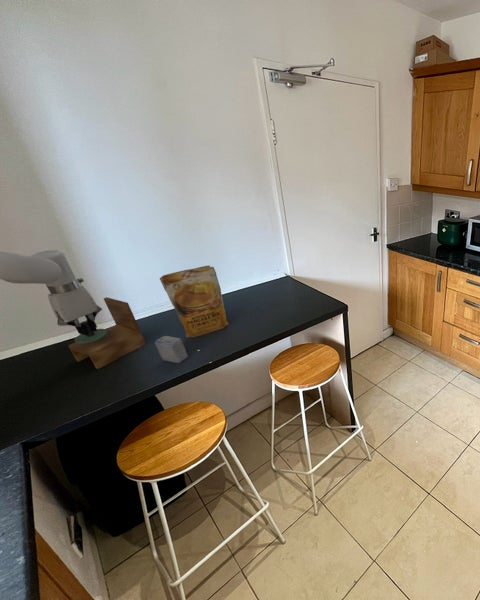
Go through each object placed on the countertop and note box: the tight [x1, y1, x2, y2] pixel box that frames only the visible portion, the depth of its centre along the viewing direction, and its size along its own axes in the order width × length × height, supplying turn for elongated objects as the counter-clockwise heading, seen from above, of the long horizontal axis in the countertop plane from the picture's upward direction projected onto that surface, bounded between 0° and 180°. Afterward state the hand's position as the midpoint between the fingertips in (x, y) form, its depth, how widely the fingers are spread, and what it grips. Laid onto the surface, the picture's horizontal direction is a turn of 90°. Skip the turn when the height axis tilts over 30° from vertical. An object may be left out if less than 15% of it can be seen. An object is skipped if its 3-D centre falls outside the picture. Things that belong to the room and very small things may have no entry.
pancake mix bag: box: [159, 265, 229, 339], centre depth 130 cm, size 7×19×28 cm, turn 129°
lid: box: [74, 320, 107, 344], centre depth 114 cm, size 9×9×6 cm
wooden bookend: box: [67, 297, 147, 370], centre depth 118 cm, size 17×13×19 cm
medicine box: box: [154, 335, 189, 364], centre depth 117 cm, size 8×4×9 cm, turn 74°
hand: (89, 332), depth 114 cm, fingers closed on lid
